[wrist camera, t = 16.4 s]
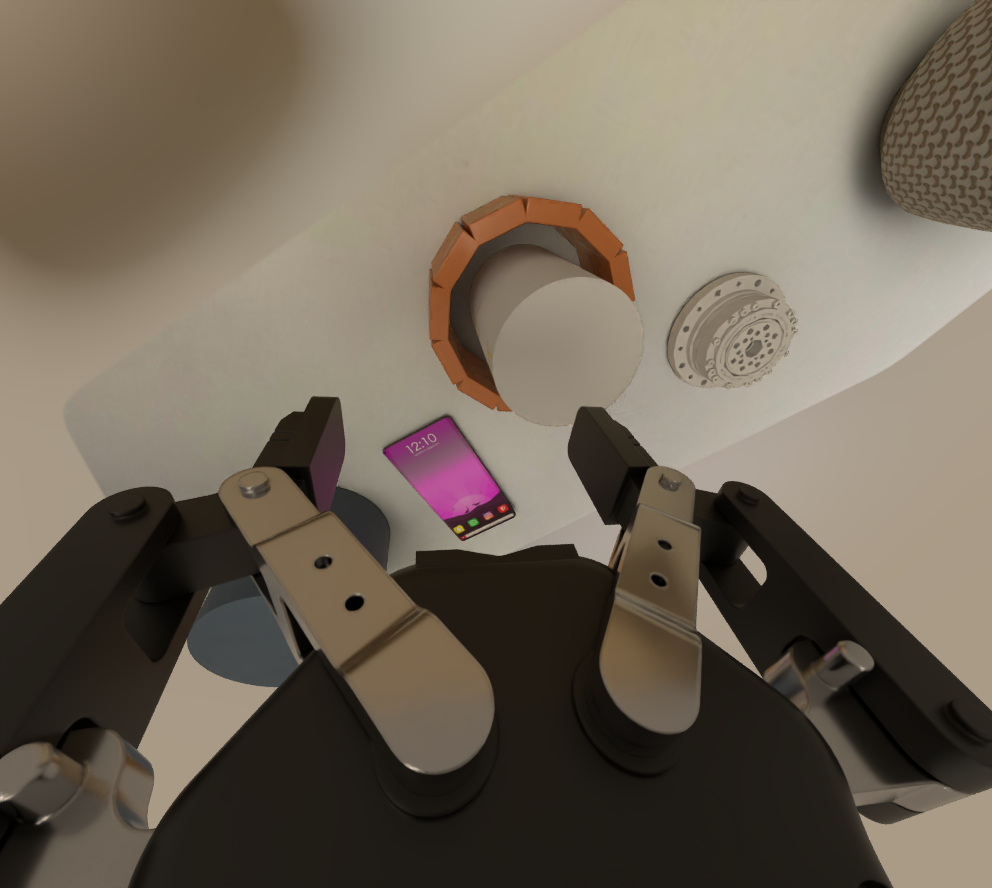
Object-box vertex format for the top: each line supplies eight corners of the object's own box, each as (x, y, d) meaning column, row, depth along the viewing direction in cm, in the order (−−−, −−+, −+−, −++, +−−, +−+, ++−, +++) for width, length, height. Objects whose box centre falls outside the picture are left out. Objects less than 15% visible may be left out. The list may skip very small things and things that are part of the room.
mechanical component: (650, 319, 32) (682, 400, 37) (679, 336, 28) (709, 423, 34) (763, 244, 30) (779, 341, 35) (810, 252, 26) (820, 359, 31)
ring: (427, 374, 31) (427, 409, 26) (431, 182, 24) (433, 182, 19) (575, 381, 34) (600, 414, 29) (620, 211, 27) (663, 217, 22)
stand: (283, 584, 43) (243, 700, 34) (220, 498, 35) (142, 618, 25) (403, 561, 44) (397, 667, 35) (368, 473, 36) (348, 578, 26)
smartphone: (460, 536, 43) (461, 542, 42) (380, 448, 35) (379, 454, 34) (515, 510, 42) (517, 516, 41) (447, 413, 34) (448, 418, 33)
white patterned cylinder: (447, 305, 28) (459, 367, 19) (524, 216, 26) (584, 235, 16) (517, 370, 32) (558, 449, 23) (590, 299, 30) (670, 354, 20)
